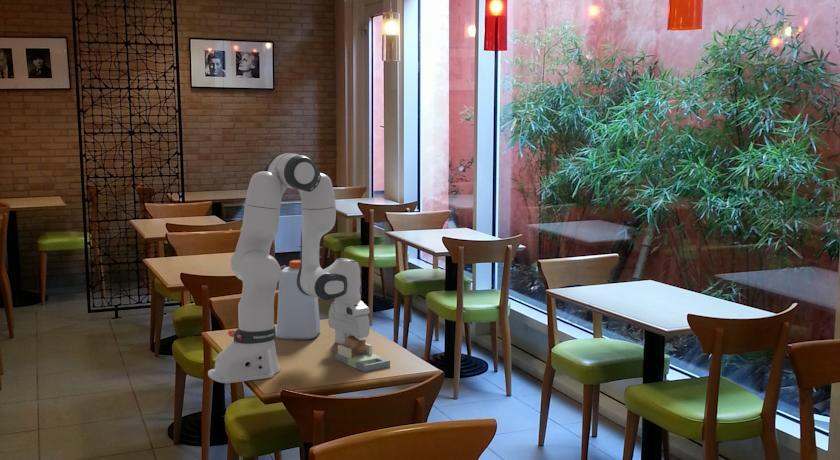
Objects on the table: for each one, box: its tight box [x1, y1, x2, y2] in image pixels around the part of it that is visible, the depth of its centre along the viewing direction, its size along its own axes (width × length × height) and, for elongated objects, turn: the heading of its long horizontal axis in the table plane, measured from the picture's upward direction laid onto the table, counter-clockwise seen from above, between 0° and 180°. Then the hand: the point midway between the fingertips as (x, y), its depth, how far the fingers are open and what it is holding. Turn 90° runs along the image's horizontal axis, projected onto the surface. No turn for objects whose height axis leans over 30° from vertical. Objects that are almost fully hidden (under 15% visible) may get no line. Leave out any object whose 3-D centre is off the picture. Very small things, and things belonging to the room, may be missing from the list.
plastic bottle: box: [275, 259, 321, 341], centre depth 309 cm, size 15×15×28 cm
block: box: [344, 336, 366, 356], centre depth 279 cm, size 5×5×5 cm
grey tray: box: [334, 342, 391, 373], centre depth 276 cm, size 10×18×5 cm, turn 36°
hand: (348, 345), depth 283 cm, fingers closed
